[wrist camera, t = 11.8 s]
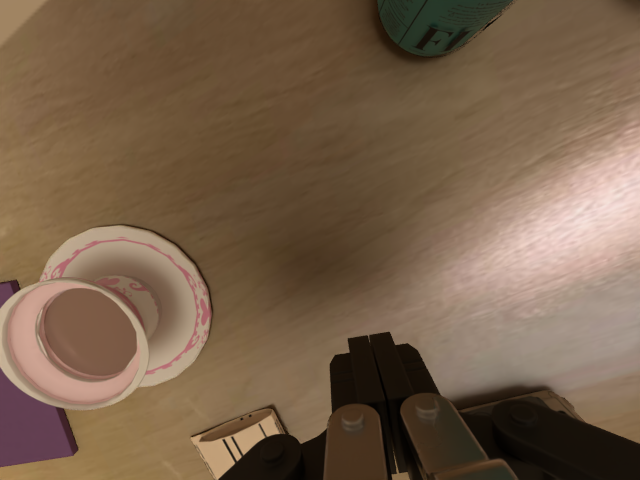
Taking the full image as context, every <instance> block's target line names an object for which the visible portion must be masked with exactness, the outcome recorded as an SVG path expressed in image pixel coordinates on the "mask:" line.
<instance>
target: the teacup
mask: <svg viewBox="0 0 640 480" xmlns="http://www.w3.org/2000/svg"><path fill="white" fill-rule="evenodd" d="M211 318H212V310H211V304H210V298H209V292H208V288H207V286H206V284H205V282H204V280H203V278H202V276H201V275H200V273H199V271H198V269H197V267H196V265H195V264H194V263H193V262H192V261H191V260H190V259H189V258H188V257H187V256H186V255H185V254H184V253H183V252H182V251H181V250H180V249H179V248H178V247H177V246H176V245H175V244H173V243H172V242H170V241H168V240H166V239H164V238H162V237H161V236H159V235H157V234H155V233H153V232H152V231H149V230H144V229H139V228H135V227H130V226H125V225H116V226H105V227H95V228H92V229H89V230H87V231H85V232H83V233H81V234H78V235H76V236H74V237H72V238H70V239H68V240H67V241H66V242H65V243H64V244H63V245H62V246H61V247H60V248H58V249H57V250H56V251H55V252H54V253H53V254H52V255H51V256H50V257H49V260H48V262H47V264H46V266H45V269H44V271H43V273H42V275H41V277H40V280H39V283H36V284H33V285H30V286H28V287H25V288H23V289H21V290H20V291H18V292H17V293H15V294H14V295H12V296H11V297H10V298H9V299H8V300H7V301H6V302H5V303H4V305H3V306H2V307H1V308H0V368H1V369H2V371H3V372H4V374H5V375H6V376H7V377H8V378H9V380H10V381H11V382H12V383H13V384H15V385H16V386H17V387H18V388H19V389H20V390H22V391H23V392H25V393H26V394H28V395H29V396H31V397H33V398H35V399H37V400H39V401H41V402H44V403H46V404H49V405H52V406H56V407H60V408H64V409H71V410H93V409H99V408H103V407H107V406H110V405H113V404H115V403H117V402H119V401H121V400H123V399H124V398H126V397H127V396H129V395H130V394H131V393H132V392H133V391H134V390H135V389H136V388H137V387H146V386H155V385H157V384H160V383H162V382H165V381H167V380H169V379H172V378H174V377H177V376H178V375H179V374H180V373H181V372H183V371H184V370H185V369H186V368H187V367H188V366H190V365H191V364H192V363H193V362H194V361H195V360H196V358H197V357H198V355H199V353H200V351H201V350H202V348H203V346H204V344H205V343H206V341H207V339H208V335H209V330H210V324H211Z"/></svg>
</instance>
